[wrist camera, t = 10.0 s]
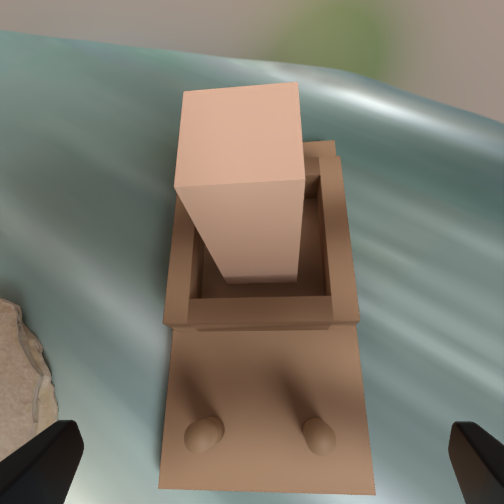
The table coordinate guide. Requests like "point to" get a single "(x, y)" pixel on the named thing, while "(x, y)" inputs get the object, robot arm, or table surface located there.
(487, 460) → the robot arm
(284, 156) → the clay bar
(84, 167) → the table surface
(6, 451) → the stone tablet
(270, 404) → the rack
